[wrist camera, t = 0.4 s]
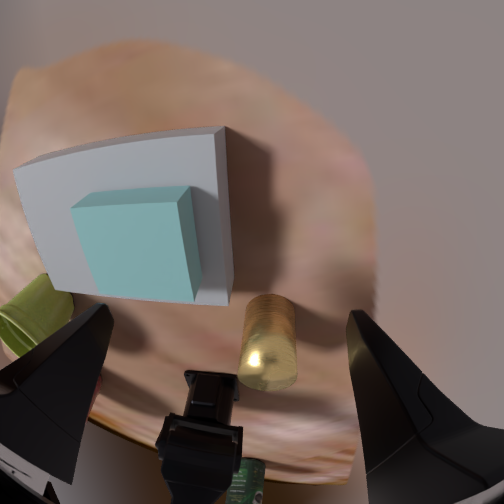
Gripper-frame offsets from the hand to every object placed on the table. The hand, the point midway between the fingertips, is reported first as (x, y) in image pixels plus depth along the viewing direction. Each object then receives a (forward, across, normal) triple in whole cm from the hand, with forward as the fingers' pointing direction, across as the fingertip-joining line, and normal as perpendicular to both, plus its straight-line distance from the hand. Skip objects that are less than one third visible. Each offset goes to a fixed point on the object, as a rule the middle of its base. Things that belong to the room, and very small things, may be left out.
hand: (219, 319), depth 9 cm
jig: (+12, +10, +1) cm, 15 cm away
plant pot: (+12, +24, +10) cm, 28 cm away
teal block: (+8, +6, +1) cm, 10 cm away
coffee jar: (+13, +4, +67) cm, 68 cm away
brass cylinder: (+12, -1, +11) cm, 16 cm away
